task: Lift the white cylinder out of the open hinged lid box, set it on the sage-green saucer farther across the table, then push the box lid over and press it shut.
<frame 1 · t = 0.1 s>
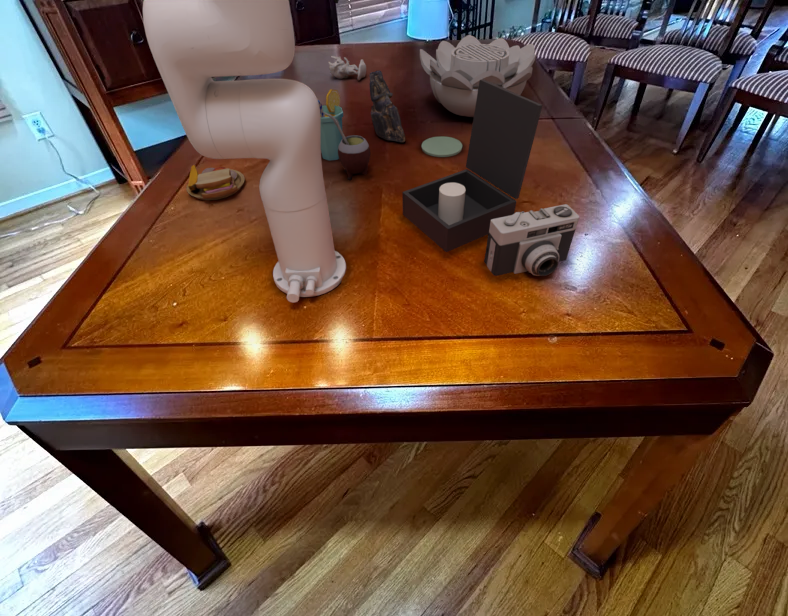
hand: (312, 2, 88), 31 cm above the table, tool pointing down, fingers open, 9 cm apart
hinged lid box: (456, 222, 88), on the table
figurine: (348, 78, 148), on the table
box lid: (499, 139, 81), point 14 cm above the table, hinge at 95.0°
saucer: (441, 147, 110), on the table
toy sandwich meal: (219, 189, 100), on the table
statue: (389, 137, 116), on the table
mate gourd: (354, 175, 102), on the table
white cylinder: (450, 221, 87), point 1 cm above the table, touching hinged lid box
cup: (331, 157, 109), on the table
decorative bowl: (477, 110, 126), on the table
camera: (529, 271, 77), on the table
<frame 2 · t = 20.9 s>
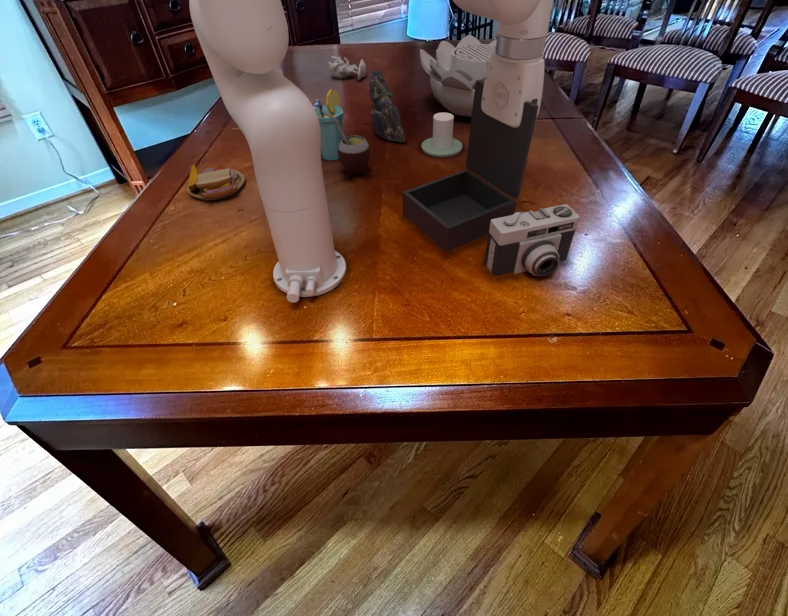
hand: (503, 155, 84), 11 cm above the table, tool pointing down, fingers closed
box lid: (497, 140, 81), point 14 cm above the table, hinge at 91.8°, touching gripper
white cylinder: (442, 145, 110), point 1 cm above the table, touching saucer
everything else where it was.
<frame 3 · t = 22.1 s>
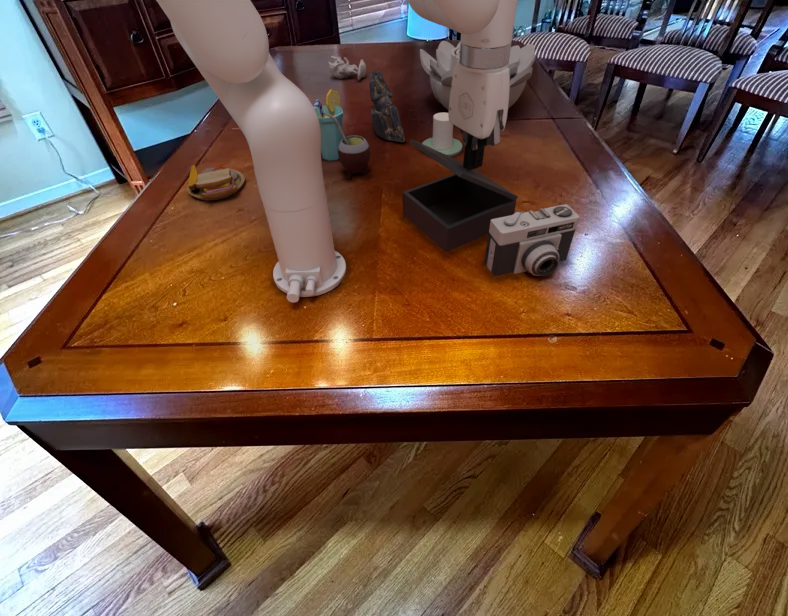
hand: (472, 166, 81), 11 cm above the table, tool pointing down, fingers closed
box lid: (464, 170, 81), point 11 cm above the table, hinge at 33.5°
everything else where it was.
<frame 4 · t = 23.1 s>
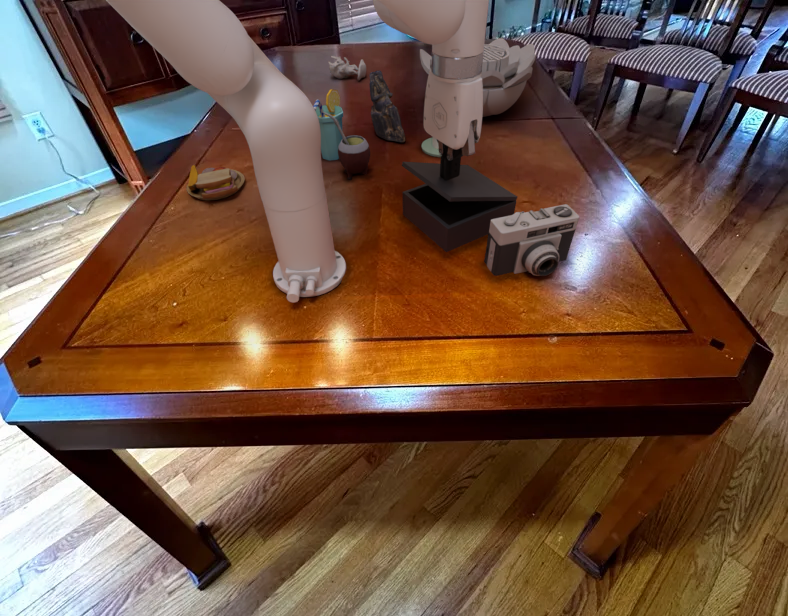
hand: (449, 176, 80), 11 cm above the table, tool pointing down, fingers closed
box lid: (459, 181, 82), point 9 cm above the table, hinge at 18.8°, touching gripper
everything else where it was.
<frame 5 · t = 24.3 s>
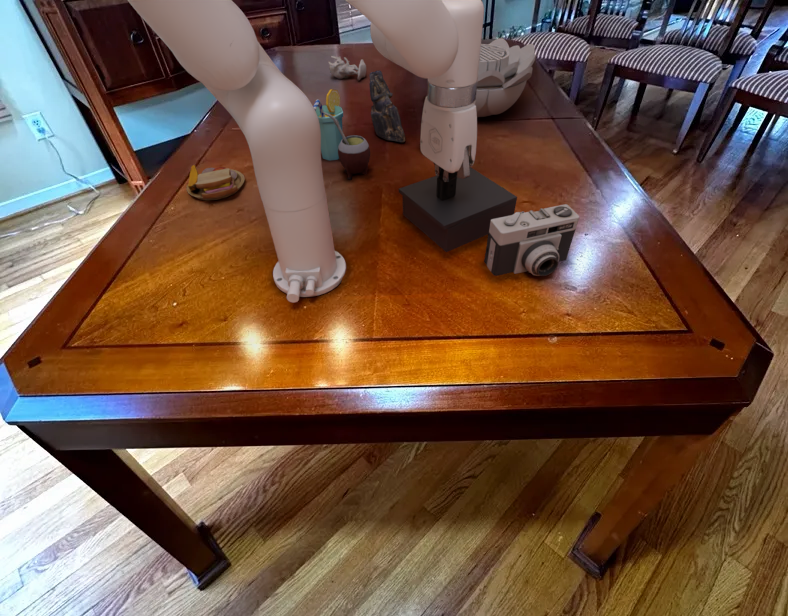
hand: (445, 196, 82), 7 cm above the table, tool pointing down, fingers closed
box lid: (456, 194, 83), point 6 cm above the table, hinge at 0.4°, touching gripper
everything else where it was.
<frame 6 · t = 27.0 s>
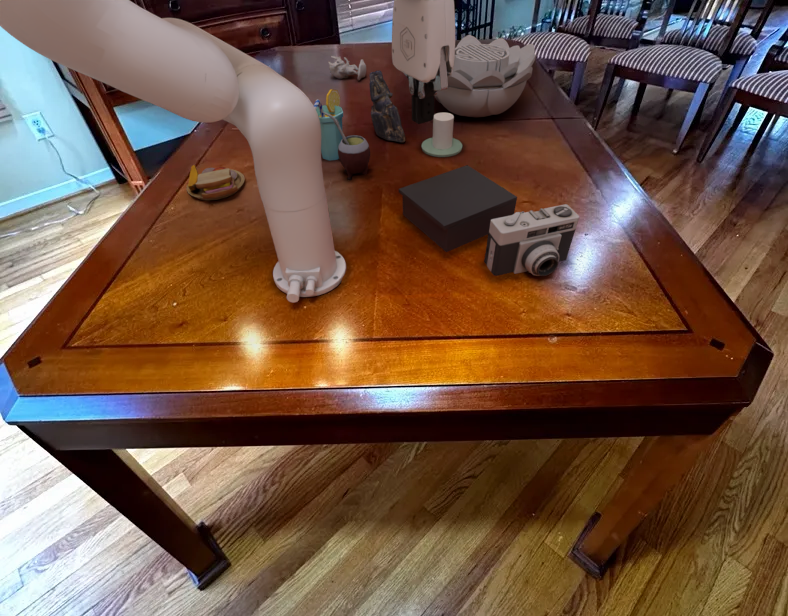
hand: (422, 120, 72), 21 cm above the table, tool pointing down, fingers closed
box lid: (456, 194, 83), point 6 cm above the table, hinge at 0.2°
everything else where it was.
at the end: white cylinder 0.1 cm off-centre on the saucer, point 0.6 cm above the saucer's base; white cylinder tilted 0°; box lid at +0° (first picture: +95°) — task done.
